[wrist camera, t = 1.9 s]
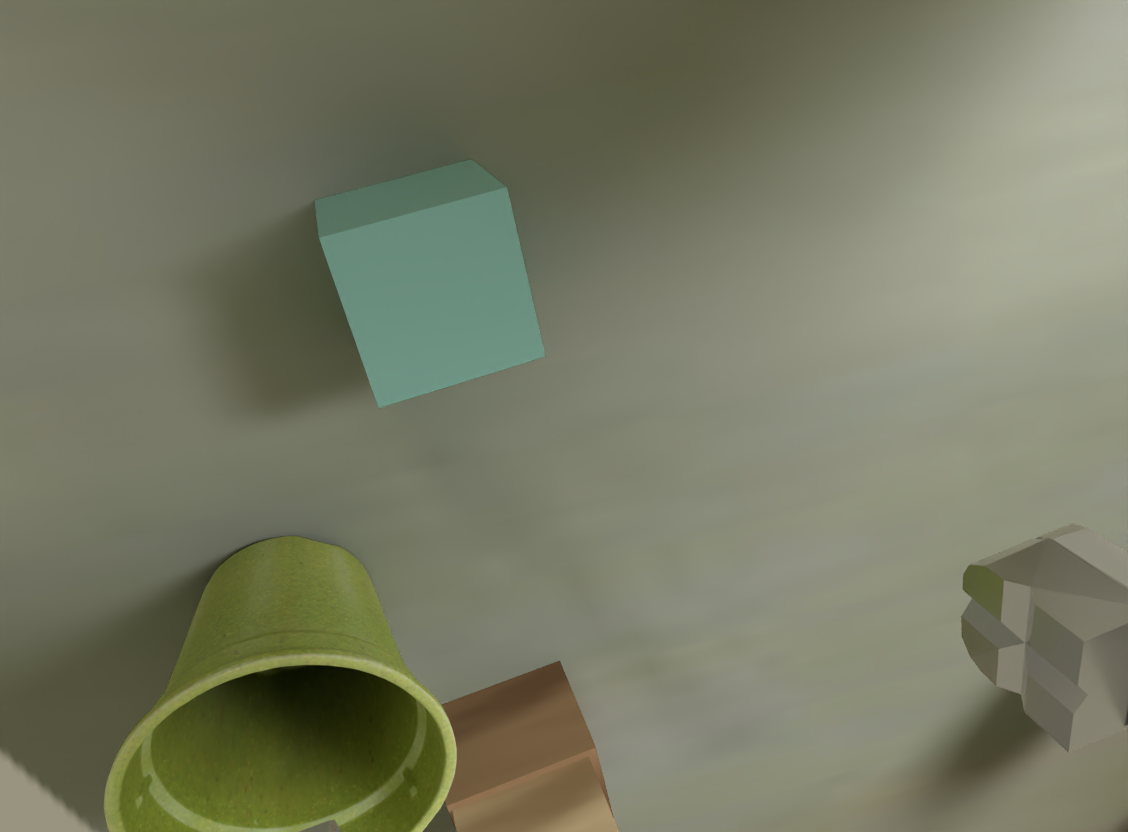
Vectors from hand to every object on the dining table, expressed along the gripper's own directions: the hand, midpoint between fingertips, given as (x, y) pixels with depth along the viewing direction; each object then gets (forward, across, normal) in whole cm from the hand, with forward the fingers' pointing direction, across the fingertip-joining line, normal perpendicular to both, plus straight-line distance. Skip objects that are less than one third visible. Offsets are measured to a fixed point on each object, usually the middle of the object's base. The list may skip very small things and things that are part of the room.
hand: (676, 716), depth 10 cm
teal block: (+20, 0, -1) cm, 20 cm away
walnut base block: (+20, +2, +21) cm, 29 cm away
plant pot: (+20, +8, +10) cm, 24 cm away
